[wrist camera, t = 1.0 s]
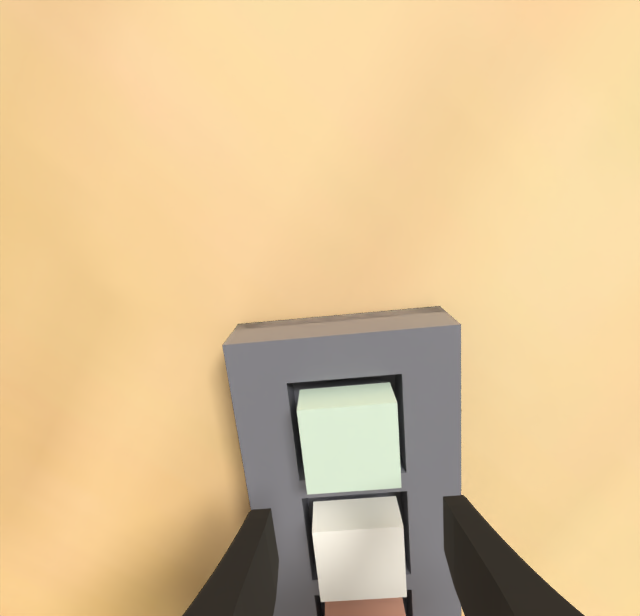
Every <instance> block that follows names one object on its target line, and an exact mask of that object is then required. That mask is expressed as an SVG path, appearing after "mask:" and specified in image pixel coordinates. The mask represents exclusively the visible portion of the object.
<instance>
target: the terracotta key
mask: <svg viewBox="0 0 640 616" xmlns="http://www.w3.org/2000/svg"><path fill="white" fill-rule="evenodd" d="M325 616H406V614H405V609H404V604H403V599H402V597H399V598H382V599H365V600H348V601H331V602H325Z"/></svg>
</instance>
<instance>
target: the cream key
mask: <svg viewBox="0 0 640 616" xmlns="http://www.w3.org/2000/svg"><path fill="white" fill-rule="evenodd" d="M312 536H313V544H314V552H315V560H316V568H317V576H318V584H319V592H320V600H321V602H331V601H348V600H365V599H382V598H399V597H407V589H406V568H405V548H404V528H403V523H402V519H401V515H400V510H399V506H398V502H397V498H396V496H388V497H374V498H359V499H345V500H331V501H316V502H313V522H312Z"/></svg>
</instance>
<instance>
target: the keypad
mask: <svg viewBox="0 0 640 616" xmlns="http://www.w3.org/2000/svg"><path fill="white" fill-rule="evenodd" d="M222 346H223V351H224V357H225V363H226V369H227V374H228V380H229V386H230V392H231V397H232V403H233V409H234V415H235V420H236V426H237V432H238V438H239V443H240V449H241V455H242V461H243V467H244V472H245V478H246V484H247V490H248V495H249V501H250V507H251V510H253V509H268V508H271V512H272V518H273V524H274V531H275V537H276V543H277V550H278V556H279V569H278V582H277V594H276V602H275V608H274V614H273V616H325V602H321V600H320V592H319V584H318V576H317V568H316V560H315V552H314V544H313V536H312V522H313V502H316V501H331V500H345V499H359V498H374V497H388V496H396V498H397V502H398V506H399V510H400V515H401V519H402V523H403V528H404V548H405V568H406V589H407V597H402V599H403V604H404V609H405V614H406V616H461V604H460V601H459V599H458V596H457V593H456V591H455V588H454V585H453V581H452V578H451V574H450V571H449V567H448V563H447V560H446V556H445V552H444V533H443V496H456V495H461V324H460V323H459V322H457V321H456V320H455V319H454V318H453V317H452V316H450V315H449V314H448V313H447V312H446V311H445V310H443V309H442V308H441V307H440V306H435V307H424V308H413V309H402V310H391V311H379V312H368V313H357V314H346V315H334V316H323V317H312V318H301V319H290V320H278V321H267V322H256V323H245V324H238V325H237V327H236V328H235V329H234V331H233V332H232V333H231V334H230V336H229V337H228V338H227V340H226V341H225V342H224V344H223V345H222ZM387 382H390V384H391V387H392V390H393V392H394V395H395V398H396V401H397V407H398V427H399V447H400V467H401V488H393V489H379V490H365V491H351V492H336V493H322V494H308V495H307V489H306V481H305V473H304V465H303V457H302V449H301V441H300V433H299V425H298V417H297V405H298V398H299V391H300V390H301V389H314V388H326V387H338V386H351V385H363V384H375V383H387Z"/></svg>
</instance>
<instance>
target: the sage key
mask: <svg viewBox="0 0 640 616" xmlns="http://www.w3.org/2000/svg"><path fill="white" fill-rule="evenodd" d="M297 417H298V425H299V433H300V441H301V449H302V457H303V465H304V473H305V481H306V489H307V495H308V494H322V493H336V492H351V491H365V490H379V489H393V488H401V467H400V447H399V427H398V407H397V401H396V398H395V395H394V392H393V390H392V387H391V384H390V382H387V383H375V384H363V385H351V386H338V387H326V388H314V389H301V390H300V391H299V398H298V405H297Z"/></svg>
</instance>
